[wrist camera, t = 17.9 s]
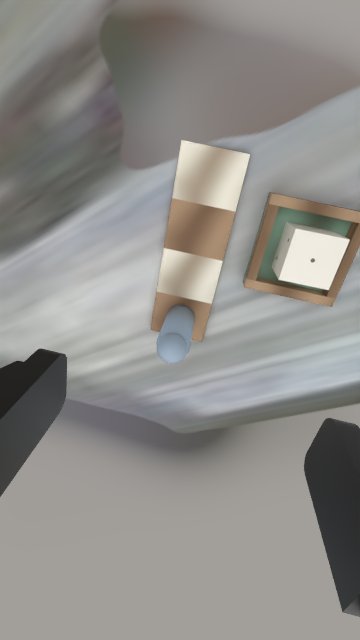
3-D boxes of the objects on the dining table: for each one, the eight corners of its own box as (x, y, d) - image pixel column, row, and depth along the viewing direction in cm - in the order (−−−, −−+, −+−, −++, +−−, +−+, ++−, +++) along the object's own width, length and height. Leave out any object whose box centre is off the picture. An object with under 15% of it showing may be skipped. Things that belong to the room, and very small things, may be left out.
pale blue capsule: (198, 309, 38) (192, 346, 29) (190, 333, 39) (182, 375, 31) (171, 300, 38) (156, 335, 29) (163, 325, 39) (148, 364, 31)
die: (332, 231, 32) (350, 239, 27) (314, 276, 34) (328, 290, 30) (285, 221, 32) (295, 228, 28) (270, 266, 34) (277, 280, 30)
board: (249, 154, 30) (250, 154, 30) (202, 339, 40) (202, 341, 40) (182, 140, 31) (181, 140, 30) (151, 327, 40) (150, 329, 40)
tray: (364, 212, 31) (373, 214, 29) (325, 299, 36) (331, 306, 34) (269, 192, 32) (272, 193, 30) (243, 281, 36) (244, 287, 34)
